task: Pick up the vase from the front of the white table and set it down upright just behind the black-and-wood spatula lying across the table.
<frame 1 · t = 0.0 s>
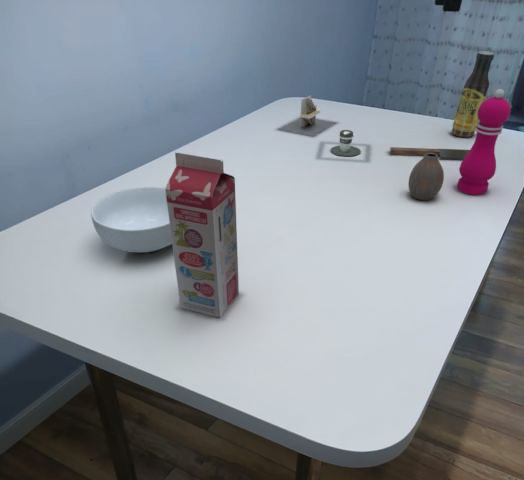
hand: (446, 8, 100), 31 cm above the table, tool pointing down, fingers open, 9 cm apart
pepper mill: (471, 190, 108), on the table
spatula: (432, 154, 125), on the table
sauce bottle: (462, 135, 137), on the table
juice carton: (210, 302, 76), on the table
grey round knobbed disc: (344, 152, 126), on the table
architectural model: (307, 126, 142), on the table
vase: (422, 197, 106), on the table
cereal bowl: (146, 243, 90), on the table
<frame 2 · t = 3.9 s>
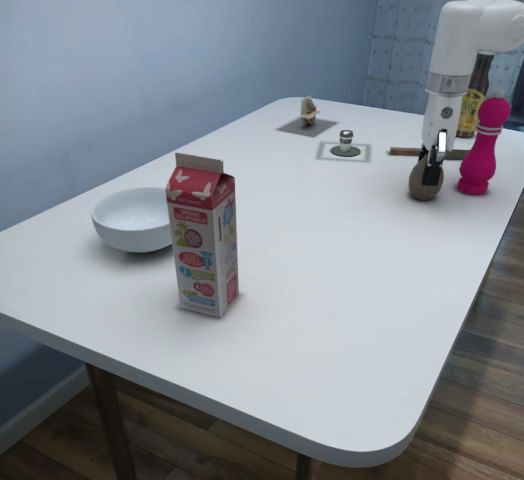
hand: (426, 177, 103), 4 cm above the table, tool pointing down, fingers closed on vase, 6 cm apart
vase: (422, 197, 106), on the table, touching gripper
everything else where it was.
when the fingers open (4 cm above the table, at t = 13.1 s): vase stays where it is, on the table.
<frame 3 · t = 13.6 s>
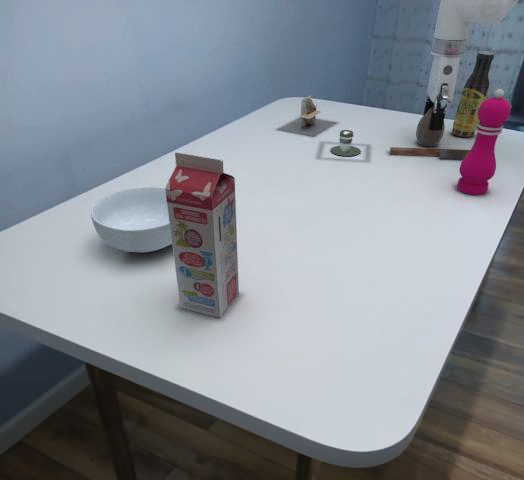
hand: (431, 123, 127), 5 cm above the table, tool pointing down, fingers open, 9 cm apart
vase: (426, 145, 131), on the table
everything else where it was.
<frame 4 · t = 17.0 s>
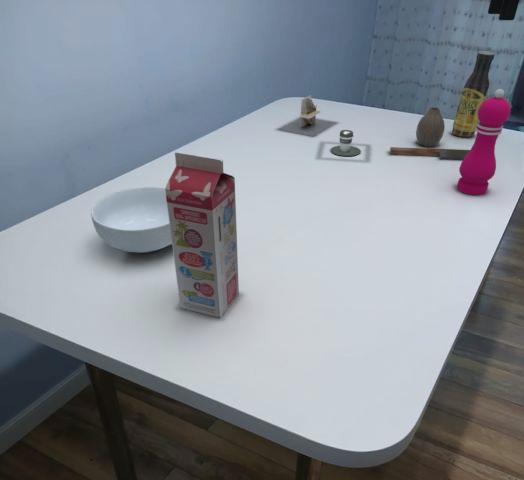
hand: (500, 16, 111), 28 cm above the table, tool pointing down, fingers open, 9 cm apart
nothing on the table moved.
at the end: vase inside the target area on the table beside the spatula (0.8 cm from its centre), on the table; vase tilted 0°; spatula moved 0.0 cm from its start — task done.
